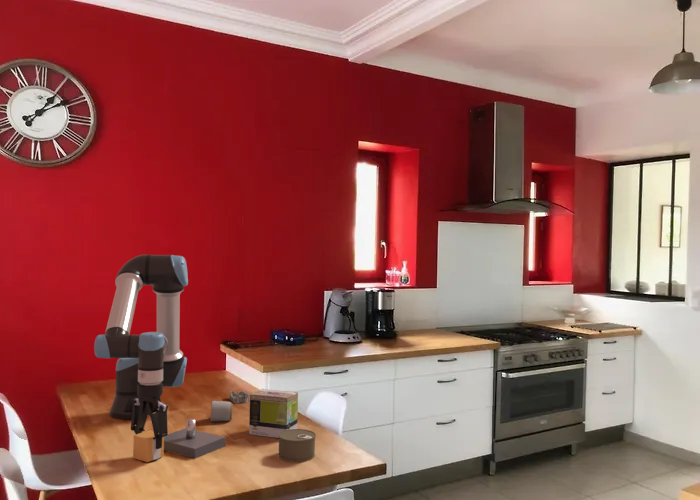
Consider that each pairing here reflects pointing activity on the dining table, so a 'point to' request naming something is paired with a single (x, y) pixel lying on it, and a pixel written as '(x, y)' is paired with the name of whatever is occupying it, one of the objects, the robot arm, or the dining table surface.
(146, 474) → the dining table surface
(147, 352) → the robot arm
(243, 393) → the egg carton
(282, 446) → the can
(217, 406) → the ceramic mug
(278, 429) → the tea box
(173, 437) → the dark gray slab
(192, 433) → the post
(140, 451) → the orange toy cube
